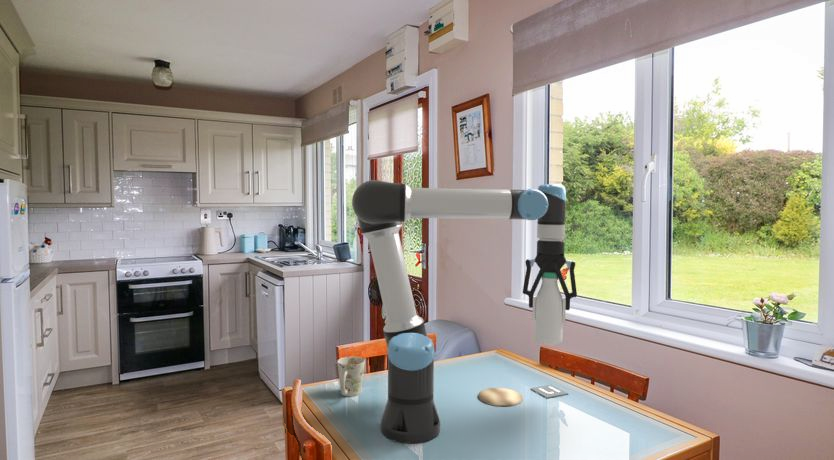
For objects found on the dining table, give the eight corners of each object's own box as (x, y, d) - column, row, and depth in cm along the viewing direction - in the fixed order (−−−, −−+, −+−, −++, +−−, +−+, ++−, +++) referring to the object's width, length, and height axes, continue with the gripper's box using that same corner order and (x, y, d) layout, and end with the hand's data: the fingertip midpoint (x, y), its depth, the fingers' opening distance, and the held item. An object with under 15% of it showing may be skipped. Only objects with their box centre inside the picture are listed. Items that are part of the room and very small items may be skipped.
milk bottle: (565, 345, 137) (567, 273, 136) (537, 345, 137) (539, 273, 136) (558, 338, 144) (560, 270, 143) (531, 337, 145) (533, 269, 144)
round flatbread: (493, 409, 139) (493, 407, 139) (470, 393, 151) (470, 391, 151) (531, 402, 145) (531, 400, 144) (506, 387, 156) (506, 385, 156)
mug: (367, 388, 154) (367, 357, 154) (358, 404, 142) (358, 370, 142) (341, 387, 155) (341, 356, 155) (330, 403, 143) (330, 369, 142)
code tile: (547, 398, 147) (547, 396, 147) (530, 389, 155) (530, 387, 155) (568, 394, 151) (568, 392, 151) (551, 385, 158) (551, 384, 158)
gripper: (588, 240, 140) (585, 320, 141) (515, 237, 146) (513, 314, 147) (589, 241, 133) (587, 326, 134) (512, 239, 139) (511, 320, 140)
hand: (548, 320), depth 140 cm, fingers closed on milk bottle, 7 cm apart
